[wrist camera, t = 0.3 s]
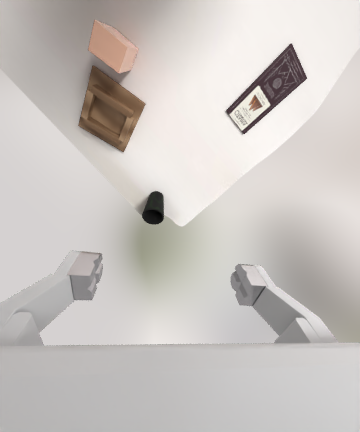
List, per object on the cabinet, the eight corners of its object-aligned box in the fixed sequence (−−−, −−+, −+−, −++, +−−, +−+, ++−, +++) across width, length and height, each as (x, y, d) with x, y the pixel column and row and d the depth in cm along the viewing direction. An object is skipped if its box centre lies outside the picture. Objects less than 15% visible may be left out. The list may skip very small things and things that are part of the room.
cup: (160, 206, 73) (157, 227, 64) (144, 199, 70) (138, 219, 61) (169, 194, 68) (167, 214, 59) (152, 186, 65) (147, 206, 57)
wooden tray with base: (94, 65, 41) (87, 66, 38) (145, 103, 47) (143, 106, 44) (79, 124, 50) (73, 128, 48) (124, 150, 56) (121, 156, 53)
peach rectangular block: (113, 27, 37) (94, 19, 29) (138, 49, 39) (127, 47, 31) (107, 51, 40) (88, 50, 32) (131, 70, 42) (118, 73, 34)
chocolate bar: (307, 78, 42) (244, 134, 51) (305, 77, 43) (243, 133, 52) (291, 43, 38) (226, 111, 47) (289, 43, 39) (225, 110, 48)
